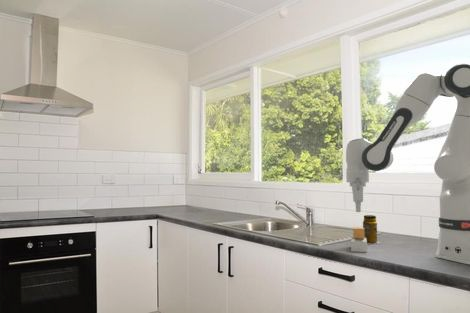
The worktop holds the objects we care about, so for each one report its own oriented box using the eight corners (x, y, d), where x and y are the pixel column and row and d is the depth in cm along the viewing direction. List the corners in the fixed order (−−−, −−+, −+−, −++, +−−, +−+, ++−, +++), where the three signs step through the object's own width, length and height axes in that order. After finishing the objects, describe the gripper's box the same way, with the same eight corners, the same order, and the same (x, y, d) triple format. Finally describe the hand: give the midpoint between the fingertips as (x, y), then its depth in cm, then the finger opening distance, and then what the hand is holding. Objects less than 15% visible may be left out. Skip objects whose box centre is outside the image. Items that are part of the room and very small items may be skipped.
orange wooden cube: (353, 236, 159) (353, 227, 159) (364, 237, 158) (364, 227, 158) (353, 238, 155) (353, 228, 155) (364, 238, 154) (364, 229, 154)
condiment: (381, 242, 168) (381, 216, 169) (367, 244, 165) (366, 217, 165) (369, 240, 175) (369, 214, 175) (355, 241, 171) (355, 215, 172)
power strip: (351, 246, 159) (351, 236, 160) (366, 247, 158) (366, 237, 158) (351, 251, 150) (351, 240, 150) (367, 252, 148) (366, 241, 148)
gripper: (366, 178, 143) (367, 214, 142) (364, 177, 162) (365, 209, 162) (349, 178, 145) (349, 214, 144) (349, 177, 164) (350, 209, 164)
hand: (358, 211), depth 153 cm, fingers closed
